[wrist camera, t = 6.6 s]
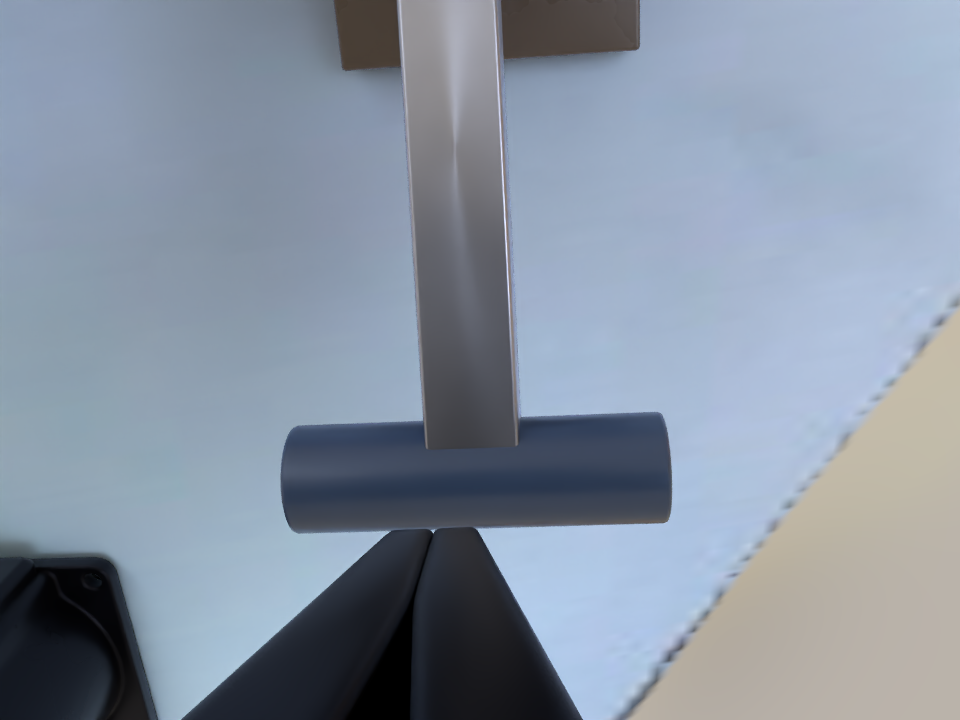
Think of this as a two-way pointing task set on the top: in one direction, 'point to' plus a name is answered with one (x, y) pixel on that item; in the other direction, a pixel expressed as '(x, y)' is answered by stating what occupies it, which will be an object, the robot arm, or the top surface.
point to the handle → (469, 340)
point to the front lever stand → (525, 28)
